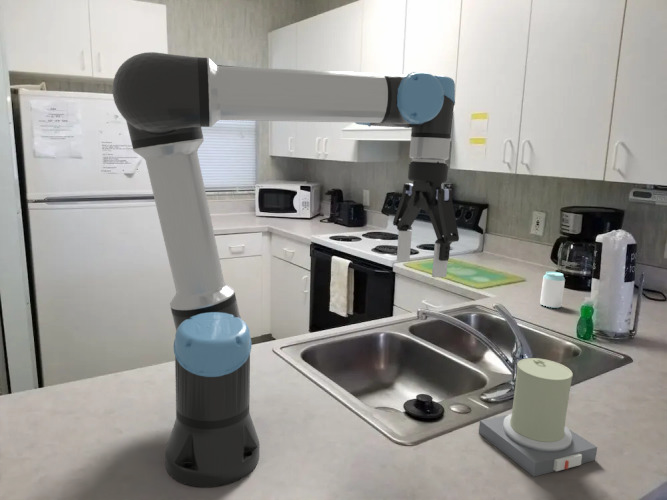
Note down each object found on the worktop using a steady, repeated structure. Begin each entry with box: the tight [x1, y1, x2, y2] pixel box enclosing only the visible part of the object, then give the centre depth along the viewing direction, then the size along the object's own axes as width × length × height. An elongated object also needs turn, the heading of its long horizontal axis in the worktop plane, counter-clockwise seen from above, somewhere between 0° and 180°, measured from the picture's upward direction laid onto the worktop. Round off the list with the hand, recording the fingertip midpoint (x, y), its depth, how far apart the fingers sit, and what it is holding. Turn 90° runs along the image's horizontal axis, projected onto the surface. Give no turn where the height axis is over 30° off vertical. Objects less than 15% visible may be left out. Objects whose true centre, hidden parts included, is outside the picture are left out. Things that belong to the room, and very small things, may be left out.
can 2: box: [510, 357, 574, 442], centre depth 91 cm, size 9×9×12 cm
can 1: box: [539, 271, 566, 309], centre depth 180 cm, size 7×7×12 cm
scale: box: [478, 413, 598, 477], centre depth 92 cm, size 14×15×4 cm
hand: (419, 268), depth 103 cm, fingers open, 13 cm apart
